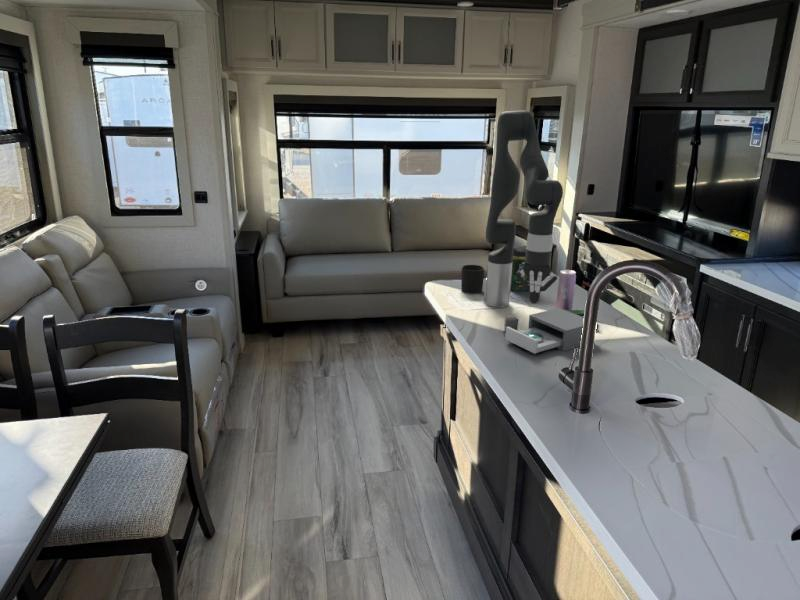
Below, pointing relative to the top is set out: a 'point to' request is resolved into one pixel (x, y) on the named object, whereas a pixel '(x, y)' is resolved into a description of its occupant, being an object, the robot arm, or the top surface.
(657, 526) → the top surface
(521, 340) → the tray
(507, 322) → the pedestal
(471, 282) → the pen holder
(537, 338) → the disc
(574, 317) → the box
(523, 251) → the coffee jar
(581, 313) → the disk drive
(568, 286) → the beverage can
